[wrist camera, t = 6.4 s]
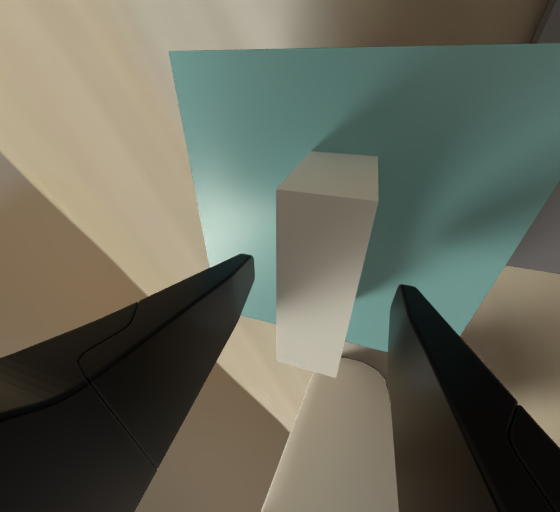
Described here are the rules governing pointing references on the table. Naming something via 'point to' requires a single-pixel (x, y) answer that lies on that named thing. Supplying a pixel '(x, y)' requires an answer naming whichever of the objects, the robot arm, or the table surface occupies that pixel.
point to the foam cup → (339, 447)
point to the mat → (556, 211)
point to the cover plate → (428, 163)
